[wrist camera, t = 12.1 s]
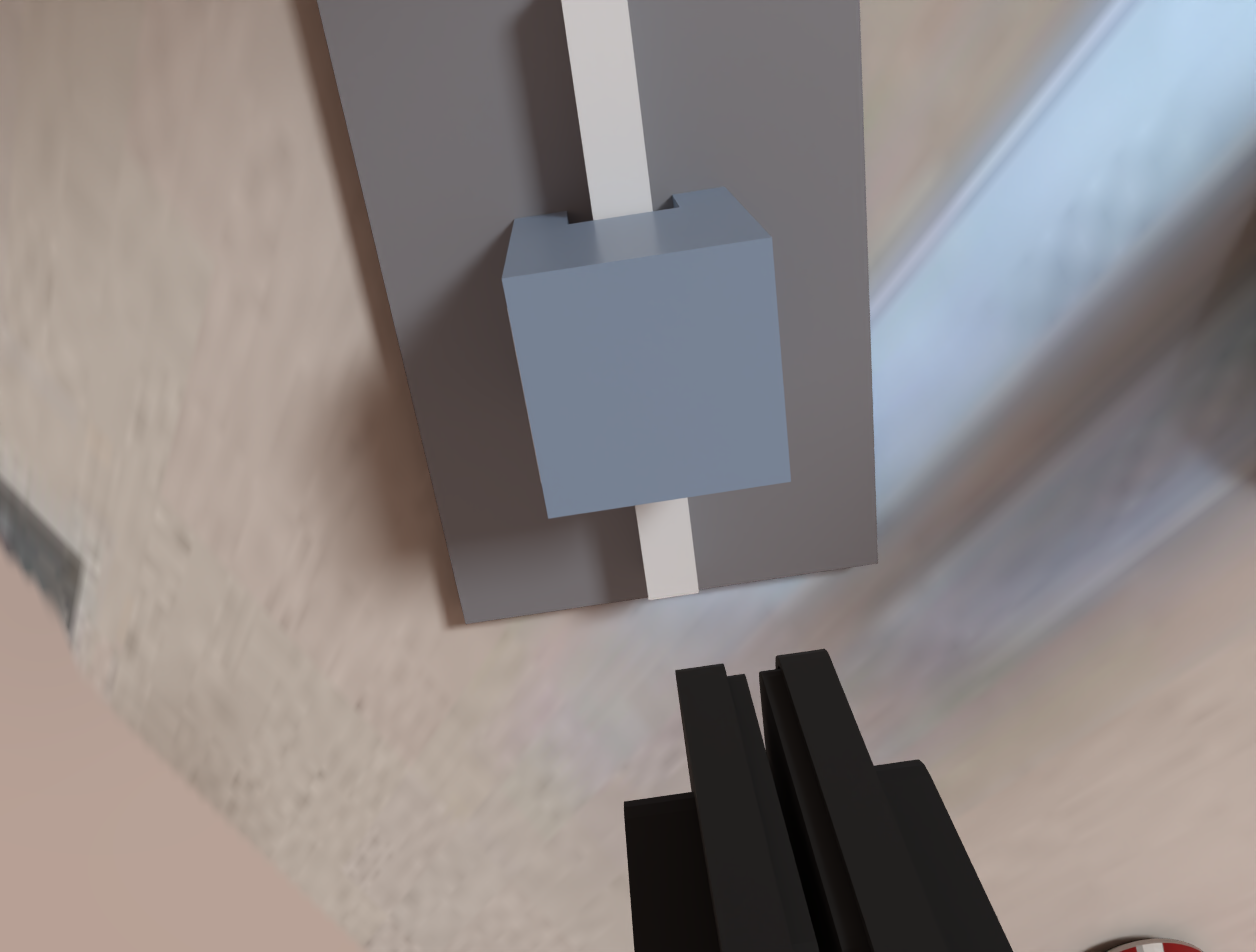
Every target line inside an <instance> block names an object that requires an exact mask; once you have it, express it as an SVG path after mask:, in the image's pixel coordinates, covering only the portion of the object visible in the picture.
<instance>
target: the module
mask: <svg viewBox="0 0 1256 952" xmlns="http://www.w3.org/2000/svg"><path fill="white" fill-rule="evenodd" d="M672 198H673V206H674V208H672V209H665V210H659V211H652V212H645V213H639V214H632V215H626V216H619V217H613V218H606V219H600V220H593V221H587V222H580V223H574V224H569V220H568V214H567V211H562V212H556V213H549V214H543V215H536V216H530V217H523V218H517V219H514V223H513V228H512V233H511V237H510V242H509V247H508V251H507V256H506V261H505V265H504V270H503V275H502V283H503V288H504V293H505V298H506V303H507V311H508V316H509V321H510V327H511V332H512V337H513V342H514V347H515V352H516V357H517V363H518V368H519V373H520V378H521V383H522V388H523V393H524V398H525V404H526V409H527V414H528V419H529V424H530V429H531V434H532V440H533V445H534V450H535V455H536V460H537V465H538V470H539V476H540V481H541V483H542V488H543V494H544V499H545V504H546V509H547V514H548V519H550V518H556V517H563V516H569V515H576V514H582V513H589V512H595V511H602V510H609V509H615V508H622V507H628V506H635V505H641V504H648V503H654V502H661V501H668V500H674V499H681V498H687V497H694V496H700V495H707V494H713V493H720V492H727V491H733V490H740V489H746V488H753V487H759V486H766V485H772V484H779V483H786V482H791V474H790V462H789V449H788V436H787V423H786V411H785V398H784V385H783V372H782V359H781V347H780V334H779V321H778V308H777V296H776V283H775V270H774V257H773V244H772V237H771V236H770V235H769V234H768V232H767V231H766V230H765V229H764V228H763V227H762V226H761V225H760V224H759V223H758V222H757V221H756V220H755V219H754V217H753V216H752V215H751V214H750V213H749V212H748V211H747V210H746V209H745V208H744V207H743V206H742V205H741V204H740V202H739V201H738V200H737V199H736V198H735V197H734V196H733V195H732V194H731V193H730V192H729V191H728V190H727V189H726V187H719V188H713V189H706V190H699V191H693V192H686V193H680V194H673V195H672Z"/></svg>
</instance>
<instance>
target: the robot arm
mask: <svg viewBox="0 0 1256 952" xmlns="http://www.w3.org/2000/svg"><path fill="white" fill-rule="evenodd" d="M775 664H776V669H775V670H768V671H761V672H759V682H760V693H761V704H762V715H763V726H764V736H765V747H766V750H765V747H764V743H763V739H762V735H761V732H760V728H759V724H758V720H757V717H756V713H755V709H754V706H753V702H752V698H751V694H750V691H749V687H748V683H747V680H746V676H745V674H740V675H733V676H727V675H726V671H725V667H724V664H716V665H709V666H702V667H695V668H688V669H682V670H675V672H676V680H677V688H678V695H679V702H680V710H681V717H682V724H683V732H684V739H685V746H686V754H687V761H688V768H689V776H690V783H691V790H692V792H688V793H681V794H674V795H667V796H660V797H654V798H647V799H640V800H633V801H626V802H624V818H625V832H626V845H627V858H628V871H629V884H630V897H631V911H632V924H633V937H634V950H635V952H1013V950H1012V948H1011V946H1010V944H1009V942H1008V940H1007V938H1006V935H1005V933H1004V931H1003V929H1002V927H1001V925H1000V923H999V921H998V918H997V916H996V914H995V912H994V910H993V908H992V906H991V903H990V901H989V899H988V897H987V895H986V893H985V891H984V889H983V886H982V884H981V882H980V880H979V878H978V876H977V874H976V872H975V869H974V867H973V865H972V863H971V861H970V859H969V857H968V855H967V852H966V850H965V848H964V846H963V844H962V842H961V840H960V837H959V835H958V833H957V831H956V829H955V827H954V825H953V823H952V820H951V818H950V816H949V814H948V812H947V810H946V808H945V806H944V803H943V801H942V799H941V797H940V795H939V793H938V791H937V789H936V786H935V784H934V782H933V780H932V778H931V776H930V774H929V772H928V770H927V769H926V767H925V765H924V764H923V763H922V762H921V761H920V760H919V759H918V760H911V761H904V762H897V763H890V764H884V765H877V766H874V765H873V763H872V761H871V758H870V756H869V753H868V751H867V748H866V746H865V743H864V741H863V738H862V736H861V733H860V731H859V728H858V726H857V723H856V721H855V718H854V716H853V713H852V711H851V708H850V706H849V703H848V701H847V698H846V696H845V693H844V691H843V688H842V686H841V683H840V681H839V679H838V676H837V674H836V671H835V669H834V666H833V664H832V661H831V659H830V656H829V654H828V652H827V651H826V650H825V649H820V650H814V651H807V652H800V653H793V654H786V655H779V656H776V662H775Z"/></svg>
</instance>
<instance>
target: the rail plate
mask: <svg viewBox="0 0 1256 952" xmlns="http://www.w3.org/2000/svg"><path fill="white" fill-rule="evenodd" d="M317 3H318V7H319V12H320V16H321V20H322V24H323V28H324V33H325V37H326V41H327V45H328V49H329V54H330V58H331V62H332V66H333V70H334V74H335V79H336V83H337V87H338V91H339V95H340V100H341V104H342V108H343V112H344V116H345V121H346V125H347V129H348V133H349V137H350V141H351V146H352V150H353V154H354V158H355V162H356V167H357V171H358V175H359V179H360V183H361V188H362V192H363V196H364V200H365V204H366V208H367V213H368V217H369V221H370V225H371V229H372V234H373V238H374V242H375V246H376V250H377V255H378V259H379V263H380V267H381V271H382V275H383V280H384V284H385V288H386V292H387V296H388V301H389V305H390V309H391V313H392V317H393V322H394V326H395V330H396V334H397V338H398V342H399V347H400V351H401V355H402V359H403V363H404V368H405V372H406V376H407V380H408V384H409V389H410V393H411V397H412V401H413V405H414V409H415V414H416V418H417V422H418V426H419V430H420V435H421V439H422V443H423V447H424V451H425V456H426V460H427V464H428V468H429V472H430V476H431V481H432V485H433V489H434V493H435V497H436V502H437V506H438V510H439V514H440V518H441V523H442V527H443V531H444V535H445V539H446V543H447V548H448V552H449V556H450V560H451V564H452V569H453V573H454V577H455V581H456V585H457V590H458V594H459V598H460V602H461V606H462V610H463V615H464V619H465V623H466V624H469V623H476V622H483V621H490V620H497V619H503V618H510V617H517V616H524V615H530V614H537V613H544V612H551V611H558V610H564V609H571V608H578V607H585V606H592V605H598V604H605V603H612V602H619V601H625V600H632V599H639V598H646V597H648V598H649V600H654V599H661V598H668V597H675V596H681V595H688V594H695V593H699V590H700V589H707V588H714V587H721V586H727V585H734V584H741V583H748V582H754V581H761V580H768V579H775V578H782V577H788V576H795V575H802V574H809V573H816V572H822V571H829V570H836V569H843V568H849V567H856V566H863V565H870V564H877V563H878V552H877V521H876V491H875V460H874V430H873V399H872V369H871V338H870V308H869V277H868V247H867V216H866V186H865V155H864V125H863V94H862V64H861V33H860V3H859V0H317ZM719 187H726V189H727V190H728V191H729V192H730V193H731V194H732V195H733V196H734V197H735V198H736V199H737V200H738V201H739V202H740V204H741V205H742V206H743V207H744V208H745V209H746V210H747V211H748V212H749V213H750V214H751V215H752V216H753V217H754V219H755V220H756V221H757V222H758V223H759V224H760V225H761V226H762V227H763V228H764V229H765V230H766V231H767V232H768V234H769V235H770V236H771V237H772V244H773V257H774V270H775V283H776V296H777V308H778V321H779V334H780V347H781V359H782V372H783V385H784V398H785V411H786V423H787V436H788V449H789V462H790V474H791V482H786V483H779V484H772V485H766V486H759V487H753V488H746V489H740V490H733V491H727V492H720V493H713V494H707V495H700V496H694V497H687V498H681V499H674V500H668V501H661V502H654V503H648V504H641V505H635V506H628V507H622V508H615V509H609V510H602V511H595V512H589V513H582V514H576V515H569V516H563V517H556V518H550V519H548V514H547V509H546V504H545V499H544V494H543V488H542V483H541V481H540V476H539V470H538V465H537V460H536V455H535V450H534V445H533V440H532V434H531V429H530V424H529V419H528V414H527V409H526V404H525V398H524V393H523V388H522V383H521V378H520V373H519V368H518V363H517V357H516V352H515V347H514V342H513V337H512V332H511V327H510V321H509V316H508V311H507V303H506V298H505V293H504V288H503V283H502V275H503V270H504V265H505V261H506V256H507V251H508V247H509V242H510V237H511V233H512V228H513V223H514V219H517V218H523V217H530V216H536V215H543V214H549V213H556V212H562V211H567V214H568V220H569V224H574V223H580V222H587V221H593V220H600V219H606V218H613V217H619V216H626V215H632V214H639V213H645V212H652V211H659V210H665V209H672V208H674V206H673V198H672V195H673V194H680V193H686V192H693V191H699V190H706V189H713V188H719Z"/></svg>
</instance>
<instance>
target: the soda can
mask: <svg viewBox="0 0 1256 952" xmlns="http://www.w3.org/2000/svg"><path fill="white" fill-rule="evenodd" d="M1106 952H1203V951H1202V950H1200V949H1199V948H1197V947H1196V946H1194V945H1191V944H1189V943H1186V942H1183V941H1179V940H1174V939H1146V940H1140V941H1135V942H1130V943H1126V944H1122V945H1119V946H1117V947H1114V948H1112V949H1110V950H1108V951H1106Z"/></svg>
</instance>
